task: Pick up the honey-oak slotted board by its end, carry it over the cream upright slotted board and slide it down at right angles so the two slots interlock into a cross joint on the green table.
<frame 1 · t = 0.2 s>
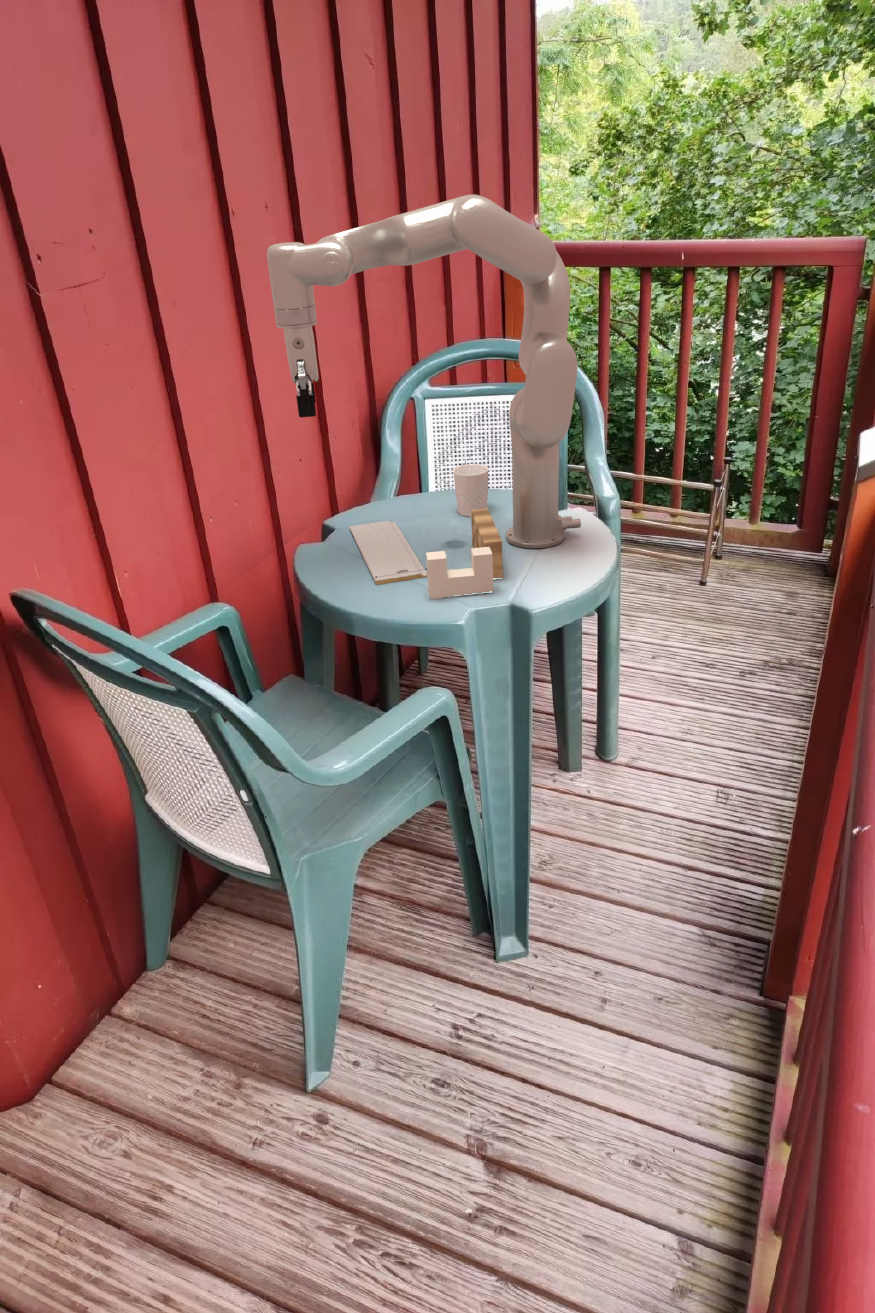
hand: (307, 410, 174), 31 cm above the table, tool pointing down, fingers open, 9 cm apart
oak slotted board: (487, 561, 183), on the table
cream upright board: (460, 592, 171), on the table
baseboard molding: (389, 554, 190), on the table
white cup: (472, 512, 208), on the table
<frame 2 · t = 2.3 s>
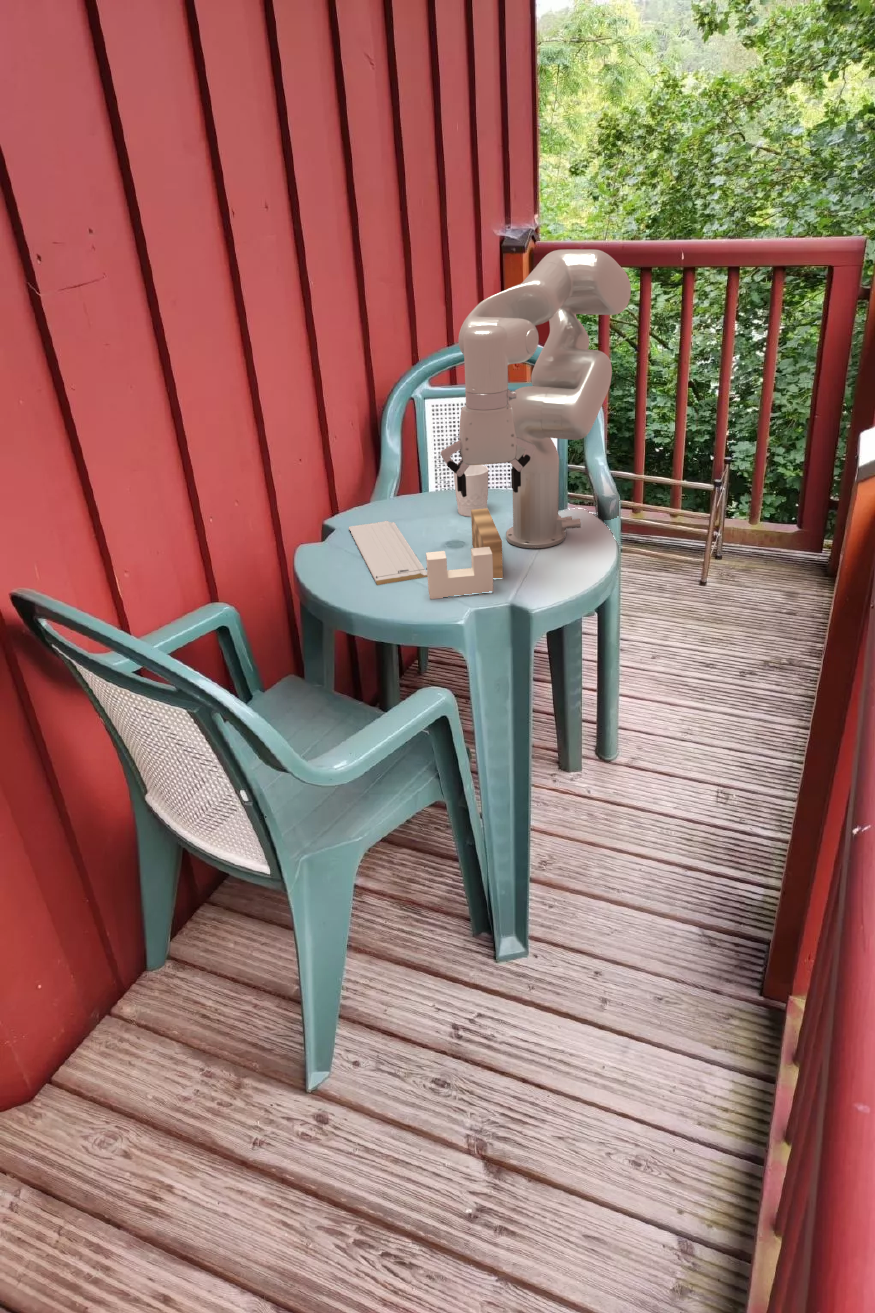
hand: (489, 492, 168), 17 cm above the table, tool pointing down, fingers open, 9 cm apart
nothing on the table moved.
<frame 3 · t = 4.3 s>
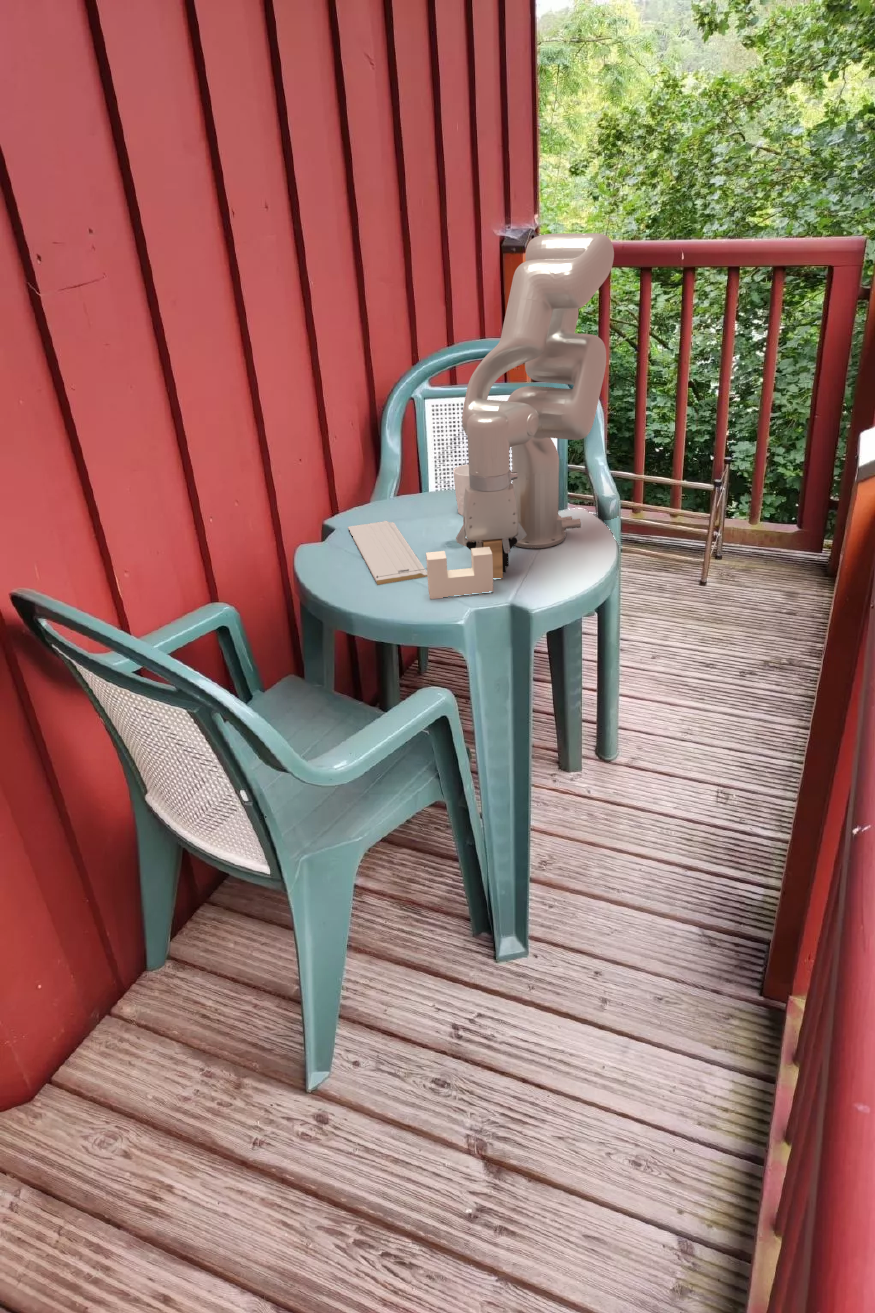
hand: (492, 569, 176), 1 cm above the table, tool pointing down, fingers closed on oak slotted board, 3 cm apart
oak slotted board: (487, 561, 183), on the table, touching gripper
everything else where it was.
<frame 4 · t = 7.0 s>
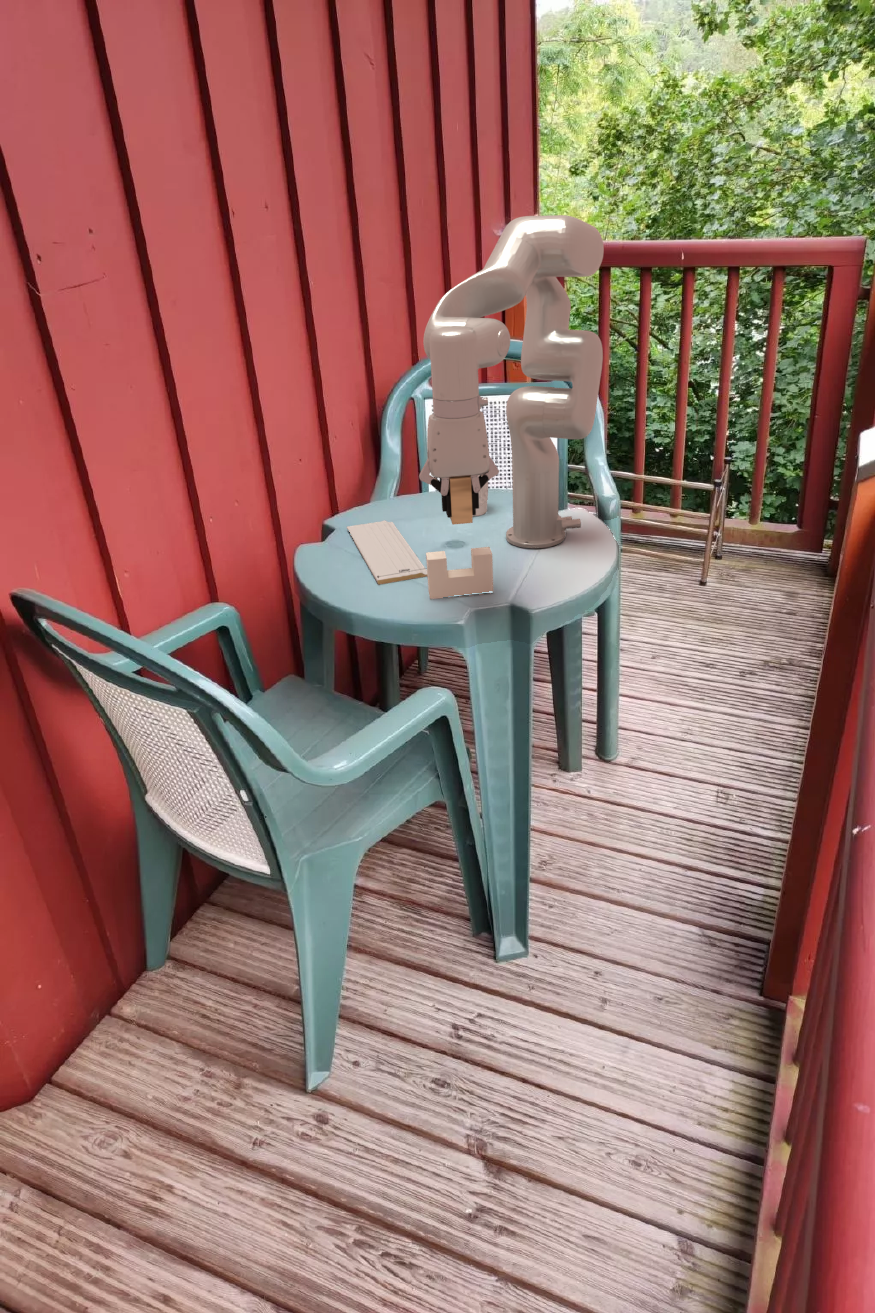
hand: (460, 512, 155), 19 cm above the table, tool pointing down, fingers closed on oak slotted board, 3 cm apart
oak slotted board: (456, 505, 162), point 17 cm above the table, touching gripper
everything else where it was.
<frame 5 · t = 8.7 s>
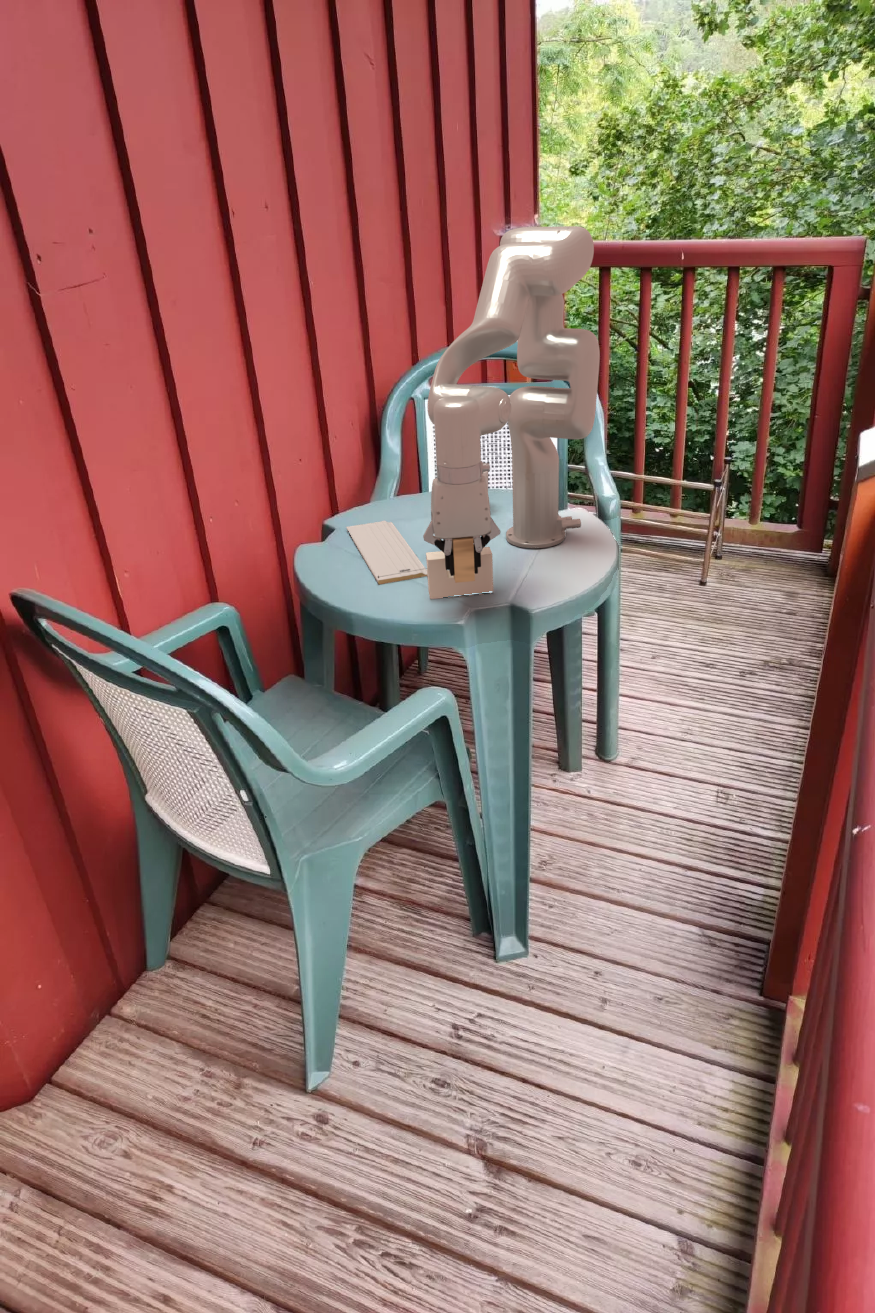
hand: (463, 570, 161), 8 cm above the table, tool pointing down, fingers closed on oak slotted board, 3 cm apart
oak slotted board: (458, 562, 168), point 6 cm above the table, touching gripper
everything else where it was.
when the fingers open (3 cm above the table, at t = 10.0 s): oak slotted board drops 1 cm, on the table.
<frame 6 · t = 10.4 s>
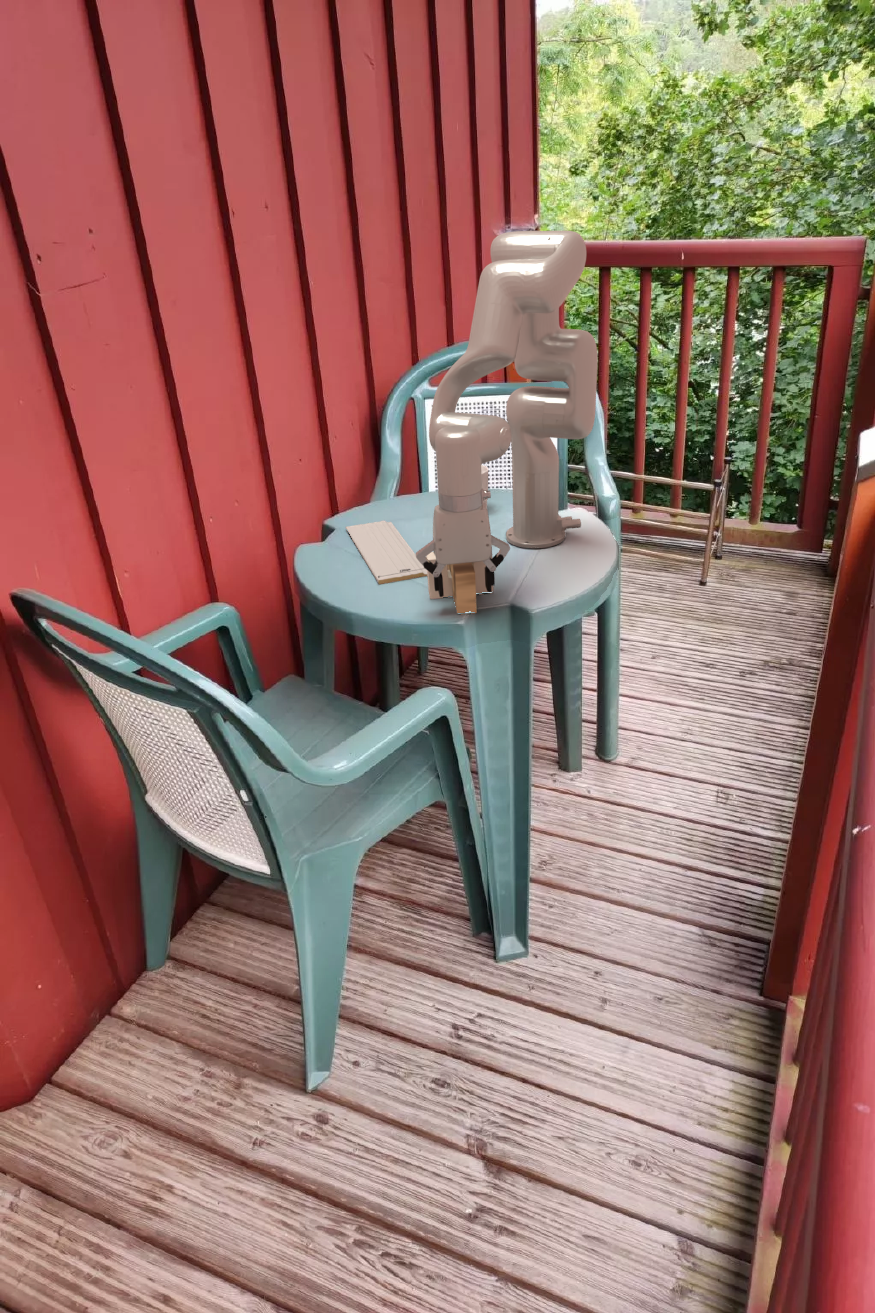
hand: (464, 591, 163), 4 cm above the table, tool pointing down, fingers open, 8 cm apart
oak slotted board: (460, 592, 171), on the table
everything else where it was.
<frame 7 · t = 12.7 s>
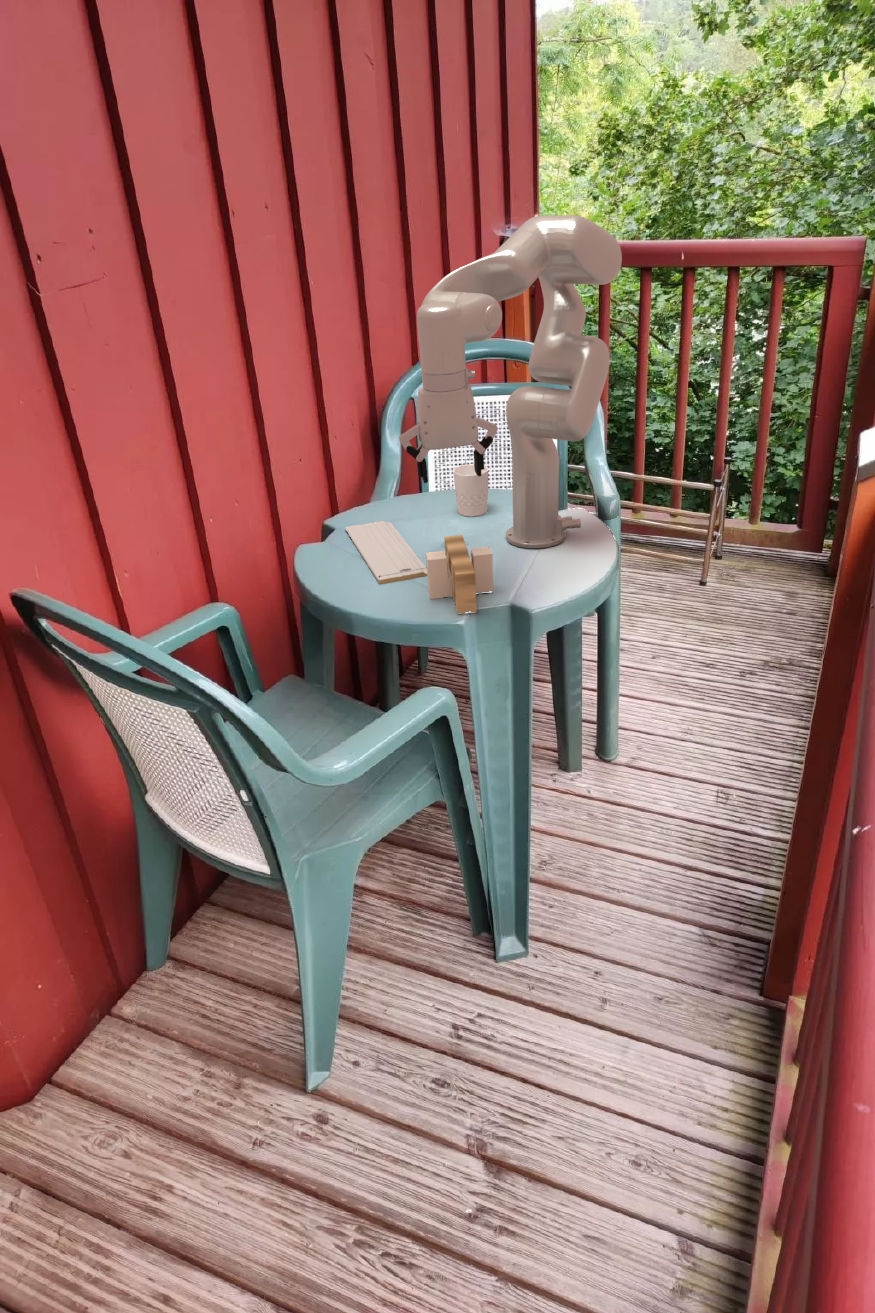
hand: (451, 477, 161), 22 cm above the table, tool pointing down, fingers open, 9 cm apart
nothing on the table moved.
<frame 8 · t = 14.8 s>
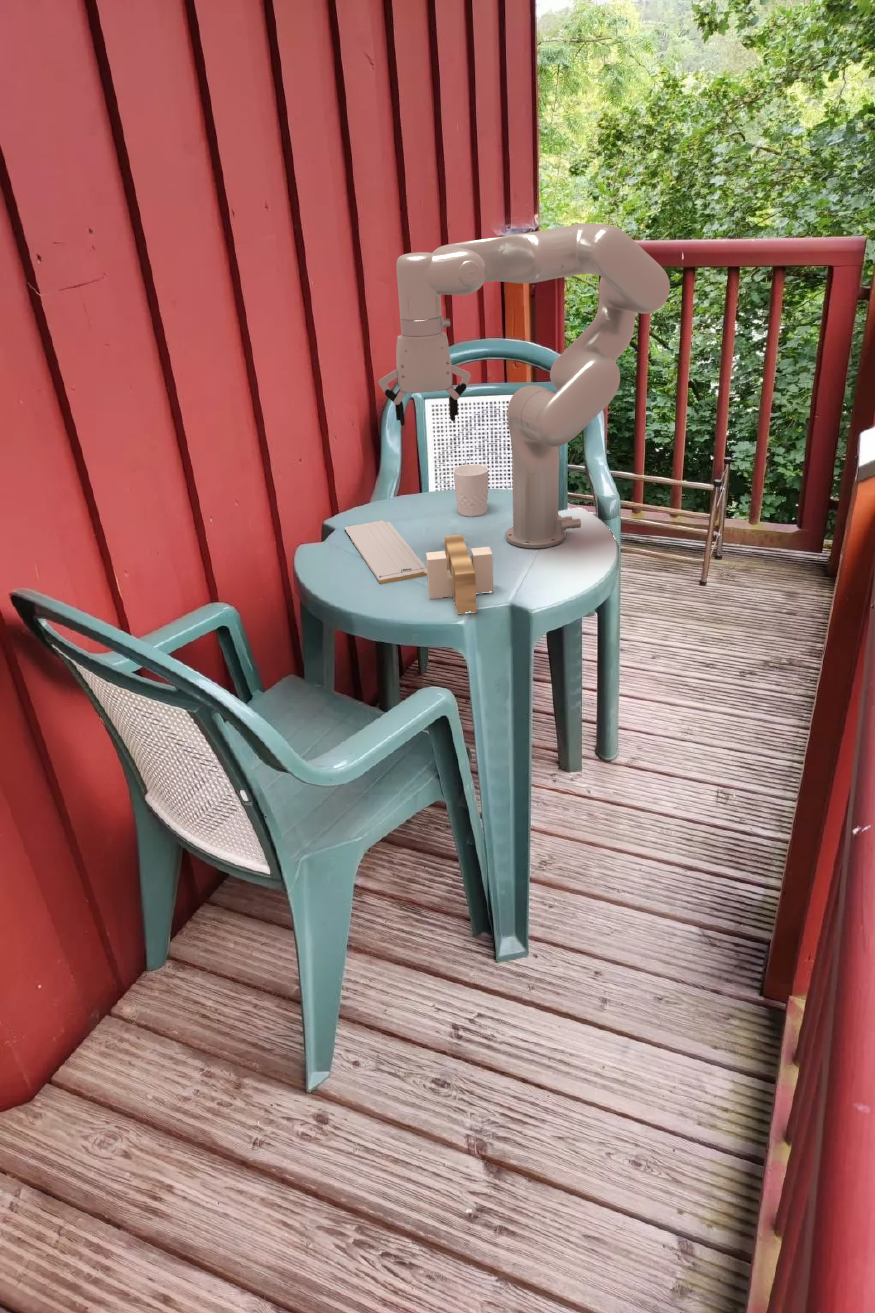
hand: (427, 421, 171), 28 cm above the table, tool pointing down, fingers open, 9 cm apart
nothing on the table moved.
at the end: oak slotted board 0.2 cm off-centre on the cream upright board, point 0.0 cm above the cream upright board's base; oak slotted board tilted 0°; the gripper is holding nothing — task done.
